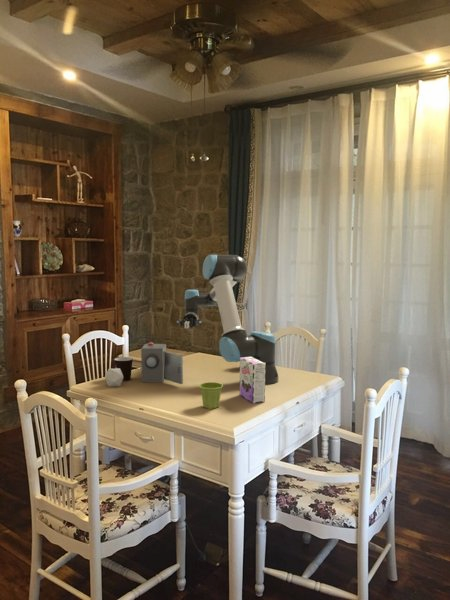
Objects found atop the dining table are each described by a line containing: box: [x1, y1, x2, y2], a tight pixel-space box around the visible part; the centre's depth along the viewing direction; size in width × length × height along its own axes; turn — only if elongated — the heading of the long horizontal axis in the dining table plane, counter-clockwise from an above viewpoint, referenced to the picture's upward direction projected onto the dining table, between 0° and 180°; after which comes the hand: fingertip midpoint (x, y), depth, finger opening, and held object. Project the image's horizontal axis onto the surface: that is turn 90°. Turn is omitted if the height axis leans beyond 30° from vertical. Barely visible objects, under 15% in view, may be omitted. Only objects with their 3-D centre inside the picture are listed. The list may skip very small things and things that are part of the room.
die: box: [104, 368, 124, 388], centre depth 232 cm, size 8×9×10 cm
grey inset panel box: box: [140, 341, 167, 383], centre depth 243 cm, size 14×10×17 cm
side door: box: [163, 350, 184, 385], centre depth 234 cm, size 13×2×13 cm, turn 44°
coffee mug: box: [113, 356, 133, 382], centre depth 245 cm, size 12×9×10 cm
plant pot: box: [198, 381, 224, 410], centre depth 201 cm, size 9×9×9 cm
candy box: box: [239, 357, 266, 404], centre depth 212 cm, size 14×6×16 cm, turn 22°
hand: (186, 325), depth 250 cm, fingers closed
